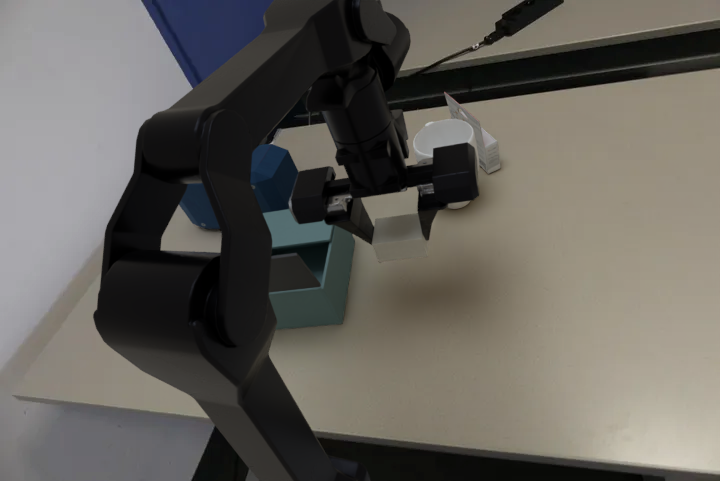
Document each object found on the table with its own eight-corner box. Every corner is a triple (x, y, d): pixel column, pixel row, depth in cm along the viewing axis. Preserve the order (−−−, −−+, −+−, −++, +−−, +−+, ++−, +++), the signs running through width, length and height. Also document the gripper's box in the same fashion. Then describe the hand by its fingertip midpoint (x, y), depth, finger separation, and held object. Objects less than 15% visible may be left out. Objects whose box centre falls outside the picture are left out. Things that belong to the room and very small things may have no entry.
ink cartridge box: (467, 135, 88) (457, 84, 81) (502, 168, 79) (494, 114, 73) (453, 142, 88) (443, 91, 81) (487, 175, 79) (478, 122, 73)
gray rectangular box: (427, 257, 57) (421, 238, 55) (378, 262, 58) (371, 244, 56) (428, 230, 59) (423, 211, 57) (382, 236, 61) (374, 218, 59)
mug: (494, 205, 75) (484, 140, 67) (439, 226, 75) (422, 164, 67) (464, 160, 83) (451, 98, 76) (415, 179, 84) (397, 120, 76)
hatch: (321, 284, 63) (320, 287, 62) (227, 294, 66) (226, 297, 66) (296, 252, 57) (296, 255, 57) (195, 265, 61) (194, 268, 60)
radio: (316, 196, 88) (267, 93, 75) (297, 234, 83) (240, 130, 70) (216, 198, 97) (156, 106, 84) (193, 232, 92) (125, 140, 78)
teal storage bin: (342, 324, 68) (320, 284, 62) (254, 331, 72) (226, 295, 66) (355, 240, 78) (337, 200, 73) (277, 251, 82) (254, 213, 76)
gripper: (463, 57, 50) (484, 180, 61) (285, 96, 56) (333, 202, 66) (465, 125, 43) (489, 252, 53) (260, 162, 48) (319, 270, 59)
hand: (401, 240), depth 58 cm, fingers closed on gray rectangular box, 5 cm apart
